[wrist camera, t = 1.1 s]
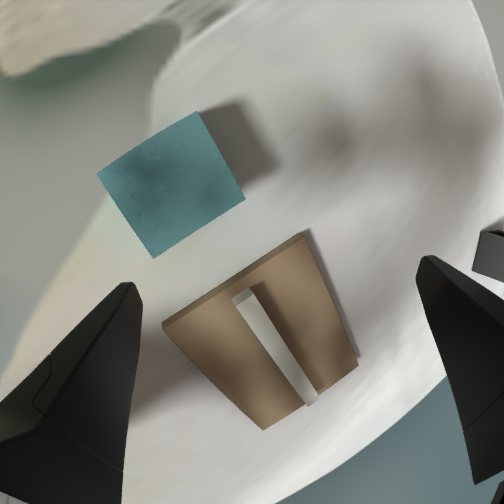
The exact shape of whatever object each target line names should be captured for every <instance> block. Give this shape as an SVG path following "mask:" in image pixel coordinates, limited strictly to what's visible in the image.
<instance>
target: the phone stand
mask: <svg viewBox="0 0 504 504" xmlns="http://www.w3.org/2000/svg"><path fill="white" fill-rule="evenodd" d="M472 271H474V272H476V273H479V274H482V275H485V276H487V277H490V278H493V279H496V280H498V281H501V282H504V231H502V230H496V231H481V232H480V237H479V242H478V246H477V251H476V255H475V259H474V263H473V267H472Z"/></svg>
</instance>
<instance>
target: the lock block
mask: <svg viewBox="0 0 504 504" xmlns="http://www.w3.org/2000/svg"><path fill="white" fill-rule="evenodd" d="M97 175H98V177H99V178H100V180H101V181H102V183H103V184H104V186H105V188H106V189H107V191H108V192H109V194H110V196H111V197H112V199H113V200H114V202H115V203H116V205H117V206H118V208H119V209H120V211H121V212H122V214H123V215H124V217H125V218H126V220H127V221H128V223H129V224H130V226H131V227H132V229H133V230H134V232H135V233H136V235H137V236H138V237H139V239H140V240H141V242H142V243H143V245H144V246H145V247H146V249H147V250H148V252H149V253H150V255H151V256H152V257H153V259H154V258H155V257H157V256H158V255H160V254H161V253H163V252H164V251H166V250H167V249H169V248H170V247H172V246H173V245H175V244H176V243H178V242H180V241H181V240H183V239H184V238H186V237H187V236H189V235H190V234H192V233H193V232H195V231H196V230H198V229H200V228H201V227H203V226H204V225H206V224H207V223H209V222H210V221H212V220H214V219H215V218H217V217H218V216H220V215H221V214H223V213H225V212H226V211H228V210H229V209H231V208H233V207H234V206H236V205H237V204H239V203H241V202H242V201H244V200H245V197H244V195H243V193H242V191H241V189H240V188H239V186H238V184H237V182H236V180H235V178H234V177H233V175H232V173H231V171H230V169H229V167H228V166H227V164H226V162H225V160H224V158H223V156H222V155H221V153H220V151H219V149H218V147H217V146H216V144H215V142H214V140H213V138H212V137H211V135H210V133H209V131H208V129H207V128H206V126H205V124H204V122H203V120H202V119H201V117H200V115H199V113H198V112H197V111H196V112H194V113H192V114H190V115H189V116H187V117H185V118H183V119H181V120H180V121H178V122H176V123H174V124H173V125H171V126H169V127H167V128H166V129H164V130H162V131H161V132H159V133H157V134H156V135H154V136H152V137H151V138H149V139H148V140H146V141H144V142H143V143H141V144H140V145H138V146H136V147H135V148H133V149H132V150H130V151H129V152H127V153H126V154H124V155H123V156H121V157H120V158H118V159H117V160H115V161H114V162H112V163H111V164H110V165H108V166H107V167H105V168H104V169H102V170H101V171H100V172H98V173H97Z"/></svg>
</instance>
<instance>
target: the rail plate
mask: <svg viewBox="0 0 504 504" xmlns="http://www.w3.org/2000/svg"><path fill="white" fill-rule="evenodd" d="M162 328H163V330H164V331H165V333H166V334H167V335H168V336H169V337H170V338H171V339H172V340H173V342H174V343H175V344H176V345H177V346H178V347H179V348H180V349H181V350H182V351H183V353H184V354H185V355H186V356H187V357H188V358H189V359H190V360H191V361H192V362H193V363H194V364H195V365H196V366H197V367H198V368H199V370H200V371H201V372H202V373H203V374H204V375H205V376H206V377H207V378H208V379H209V380H210V381H211V382H212V383H213V384H214V385H215V386H216V387H217V388H218V389H219V390H220V391H221V392H222V393H223V394H224V395H225V396H226V397H227V398H228V399H229V400H230V401H232V402H233V403H234V404H235V405H236V406H237V407H238V408H239V409H240V410H241V411H242V412H243V413H244V414H245V415H246V416H248V417H249V418H250V419H251V420H252V421H253V422H254V423H255V424H256V425H257V426H259V427H260V428H261V429H262V430H265V429H266V428H268V427H270V426H271V425H273V424H275V423H276V422H278V421H280V420H281V419H283V418H284V417H286V416H288V415H289V414H291V413H292V412H294V411H295V410H297V409H299V408H300V407H302V406H303V405H305V404H306V405H307V406H310V405H311V404H313V403H314V402H316V401H317V400H319V399H320V397H319V394H321V393H322V392H324V391H325V390H326V389H328V388H329V387H331V386H332V385H333V384H335V383H336V382H338V381H339V380H340V379H342V378H343V377H344V376H346V375H347V374H348V373H350V372H351V371H352V370H354V369H355V368H356V367H357V366H359V365H358V362H357V360H356V357H355V355H354V352H353V350H352V347H351V345H350V342H349V340H348V337H347V335H346V332H345V330H344V327H343V325H342V322H341V320H340V318H339V315H338V313H337V310H336V308H335V306H334V303H333V301H332V299H331V296H330V294H329V292H328V289H327V287H326V285H325V282H324V280H323V278H322V276H321V273H320V271H319V269H318V267H317V264H316V262H315V260H314V258H313V255H312V253H311V251H310V249H309V246H308V244H307V242H306V240H305V238H304V236H302V235H300V234H296V235H295V236H293V237H292V238H290V239H289V240H287V241H286V242H284V243H283V244H281V245H280V246H278V247H277V248H275V249H274V250H272V251H271V252H269V253H268V254H266V255H265V256H263V257H262V258H260V259H259V260H257V261H256V262H254V263H252V264H251V265H249V266H248V267H246V268H245V269H243V270H242V271H240V272H239V273H237V274H236V275H234V276H233V277H231V278H230V279H228V280H227V281H225V282H224V283H222V284H220V285H219V286H217V287H216V288H214V289H213V290H211V291H210V292H208V293H207V294H205V295H204V296H202V297H201V298H199V299H198V300H196V301H194V302H193V303H191V304H190V305H188V306H187V307H185V308H184V309H182V310H181V311H179V312H178V313H176V314H174V315H173V316H171V317H170V318H168V319H167V320H165V321H164V322H162Z"/></svg>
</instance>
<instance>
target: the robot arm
mask: <svg viewBox="0 0 504 504" xmlns="http://www.w3.org/2000/svg"><path fill="white" fill-rule="evenodd" d="M416 284H417V287H418V290H419V294H420V297H421V300H422V304H423V307H424V310H425V314H426V317H427V320H428V323H429V326H430V329H431V331H432V334H433V337H434V339H435V342H436V345H437V348H438V350H439V353H440V356H441V359H442V362H443V365H444V368H445V371H446V374H447V377H448V380H449V383H450V386H451V389H452V393H453V396H454V399H455V403H456V406H457V410H458V414H459V418H460V421H461V425H462V429H463V434H464V437H465V442H466V447H467V451H468V456H469V461H470V466H471V470H472V477H473V482H474V485H477V484H478V483H481V482H482V481H485V480H487V479H488V478H490V477H492V476H494V475H496V474H498V473H500V472H501V471H503V470H504V300H503V299H501V298H500V297H498V296H497V295H496V294H494V293H493V292H491V291H490V290H488V289H487V288H485V287H484V286H482V285H481V284H479V283H477V282H476V281H474V280H473V279H471V278H470V277H468V276H467V275H465V274H463V273H462V272H460V271H459V270H457V269H456V268H454V267H452V266H451V265H449V264H447V263H446V262H444V261H443V260H441V259H439V258H438V257H436V256H434V255H429V256H424V257H422V258H421V261H420V264H419V267H418V271H417V274H416ZM142 312H143V303H142V300H141V297H140V295H139V293H138V290H137V288H136V285H135V284H134V283H133V282H122V283H120V284H119V285H118V286H117V287H116V288H115V289H114V290H113V291H112V292H111V293H109V294H108V295H107V296H106V297H105V298H104V299H103V300H102V301H101V302H100V303H99V304H98V305H97V306H96V307H95V308H94V309H93V310H92V311H91V312H90V313H89V314H88V315H87V316H86V317H85V318H84V319H83V320H82V321H81V322H80V323H79V324H78V325H77V326H76V327H75V328H74V329H73V330H72V331H71V332H70V333H69V334H68V335H67V336H66V337H65V338H64V339H63V340H62V341H61V342H60V343H59V344H58V345H57V346H56V347H55V348H54V350H53V351H52V352H51V353H50V354H49V355H48V356H47V357H46V358H45V359H44V360H43V361H42V362H41V363H40V364H39V365H38V366H37V367H36V368H35V369H34V370H33V371H32V373H30V374H29V375H28V376H27V377H26V378H25V379H24V380H23V381H22V382H21V383H20V384H19V385H18V386H17V387H16V388H15V389H14V390H13V391H12V392H11V393H9V394H8V395H7V396H6V397H5V398H4V399H3V400H2V401H1V402H0V504H121V499H122V483H123V472H122V471H123V469H124V458H125V448H126V438H127V430H128V422H129V414H130V407H131V400H132V393H133V386H134V380H135V374H136V368H137V362H138V356H139V349H140V336H141V323H142ZM491 504H504V480H503V481H502V482H500V483H499V486H498V488H497V491H496V493H495V495H494V498H493V500H492V502H491Z"/></svg>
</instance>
